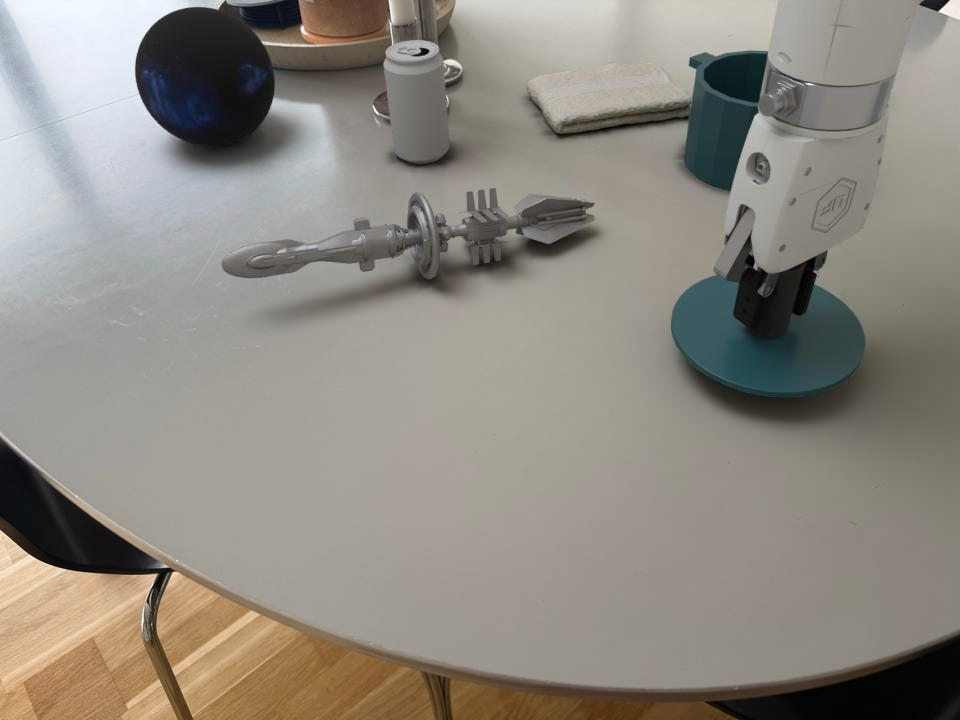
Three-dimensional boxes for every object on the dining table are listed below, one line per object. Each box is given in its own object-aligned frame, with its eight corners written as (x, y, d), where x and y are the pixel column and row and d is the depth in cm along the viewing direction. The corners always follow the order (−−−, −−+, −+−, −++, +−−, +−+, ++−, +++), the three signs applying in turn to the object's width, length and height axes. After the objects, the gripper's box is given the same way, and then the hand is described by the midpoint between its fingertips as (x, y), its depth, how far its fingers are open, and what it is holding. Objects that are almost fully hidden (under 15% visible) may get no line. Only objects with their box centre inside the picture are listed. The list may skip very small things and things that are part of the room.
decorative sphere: (143, 173, 93) (96, 41, 82) (176, 113, 104) (138, -10, 94) (276, 167, 92) (244, 33, 82) (294, 108, 104) (269, -16, 93)
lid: (760, 261, 72) (777, 185, 67) (902, 351, 63) (935, 271, 58) (632, 324, 67) (639, 246, 62) (767, 433, 58) (790, 352, 52)
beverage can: (437, 170, 90) (428, 64, 82) (385, 162, 92) (371, 57, 84) (458, 144, 95) (452, 40, 87) (408, 136, 97) (397, 35, 89)
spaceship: (209, 213, 71) (215, 226, 64) (571, 165, 82) (611, 172, 74) (226, 301, 73) (234, 323, 66) (575, 244, 84) (613, 257, 77)
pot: (729, 112, 98) (743, 33, 92) (861, 178, 86) (888, 91, 79) (642, 145, 93) (650, 63, 86) (769, 219, 81) (790, 131, 74)
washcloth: (697, 117, 97) (701, 92, 95) (554, 140, 95) (554, 115, 92) (657, 77, 106) (659, 54, 104) (524, 98, 103) (524, 74, 101)
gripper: (777, 153, 46) (726, 386, 58) (962, 73, 51) (880, 301, 64) (683, 105, 50) (655, 330, 63) (862, 37, 56) (804, 255, 69)
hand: (769, 313), depth 63 cm, fingers closed on lid, 3 cm apart
